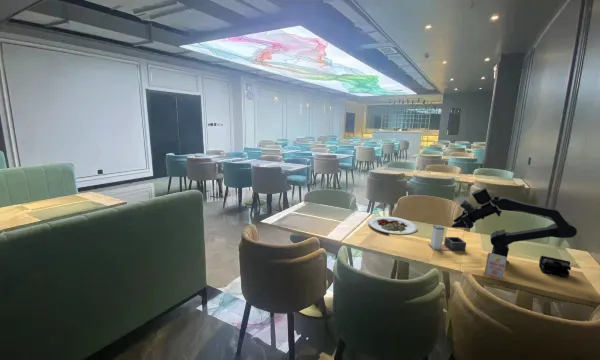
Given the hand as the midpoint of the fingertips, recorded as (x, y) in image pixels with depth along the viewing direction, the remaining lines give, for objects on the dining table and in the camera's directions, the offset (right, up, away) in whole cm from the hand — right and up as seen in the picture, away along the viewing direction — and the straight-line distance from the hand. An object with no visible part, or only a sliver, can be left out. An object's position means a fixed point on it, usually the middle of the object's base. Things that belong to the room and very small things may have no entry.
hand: (452, 223), depth 150 cm
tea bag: (+6, -20, -22) cm, 31 cm away
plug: (-8, -13, +2) cm, 15 cm away
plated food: (-22, -7, +32) cm, 40 cm away
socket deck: (-3, -14, +2) cm, 14 cm away
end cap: (+36, -20, -19) cm, 46 cm away
